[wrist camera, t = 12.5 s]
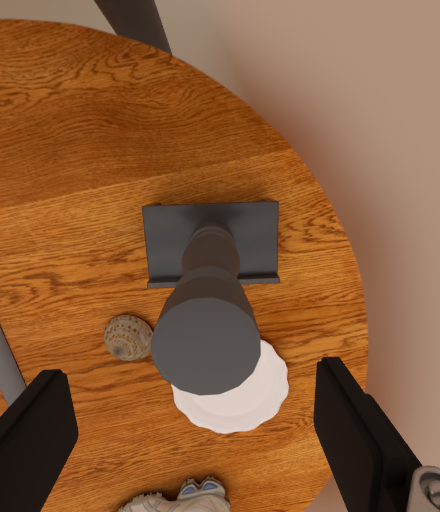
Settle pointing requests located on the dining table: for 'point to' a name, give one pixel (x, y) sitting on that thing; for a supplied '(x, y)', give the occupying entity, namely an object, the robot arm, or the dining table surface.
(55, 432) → the robot arm
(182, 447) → the dining table surface
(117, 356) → the seashell
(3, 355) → the half round rod
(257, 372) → the plate
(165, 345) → the candle holder
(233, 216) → the block with raised lip
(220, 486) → the golf shoe
